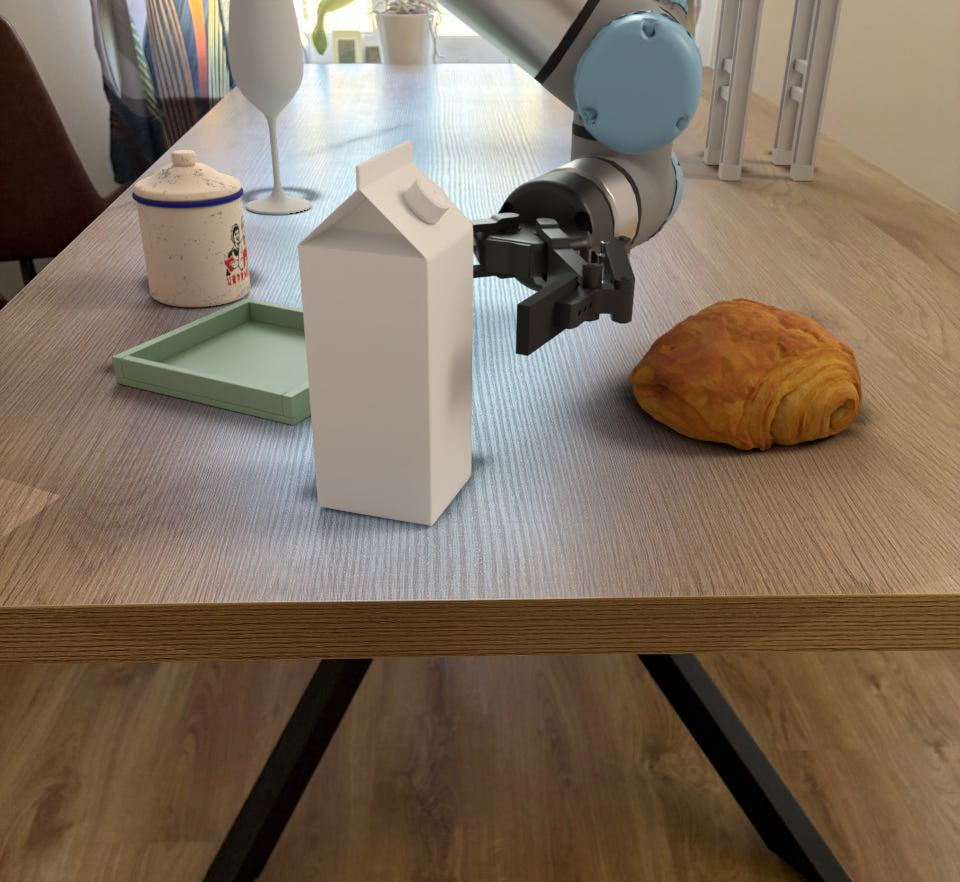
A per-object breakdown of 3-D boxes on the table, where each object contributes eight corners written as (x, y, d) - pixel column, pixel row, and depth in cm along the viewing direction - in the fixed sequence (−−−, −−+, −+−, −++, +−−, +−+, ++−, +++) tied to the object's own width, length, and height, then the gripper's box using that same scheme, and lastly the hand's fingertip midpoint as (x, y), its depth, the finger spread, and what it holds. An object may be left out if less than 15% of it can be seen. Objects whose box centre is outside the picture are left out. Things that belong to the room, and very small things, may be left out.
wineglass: (283, 218, 120) (264, -7, 109) (230, 208, 124) (206, -11, 112) (327, 204, 126) (313, -12, 114) (275, 195, 129) (256, -15, 117)
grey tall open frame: (708, 184, 136) (750, -170, 117) (684, 157, 149) (719, -166, 129) (833, 184, 137) (896, -168, 117) (799, 158, 150) (851, -164, 130)
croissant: (743, 388, 87) (751, 281, 83) (897, 434, 75) (914, 311, 71) (586, 416, 81) (588, 302, 78) (725, 471, 69) (734, 339, 65)
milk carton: (317, 509, 65) (289, 160, 54) (365, 460, 71) (349, 134, 60) (431, 529, 63) (426, 172, 52) (472, 477, 69) (475, 144, 58)
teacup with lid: (253, 307, 95) (238, 161, 89) (143, 311, 94) (120, 164, 88) (253, 267, 105) (240, 133, 99) (154, 271, 104) (134, 135, 97)
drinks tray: (116, 383, 81) (111, 356, 80) (249, 321, 92) (246, 297, 91) (293, 425, 75) (291, 397, 74) (412, 354, 86) (411, 329, 85)
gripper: (731, 307, 76) (615, 416, 60) (413, 256, 85) (240, 339, 70) (747, 191, 72) (627, 275, 56) (410, 150, 81) (226, 213, 65)
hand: (412, 310), depth 63 cm, fingers open, 13 cm apart
